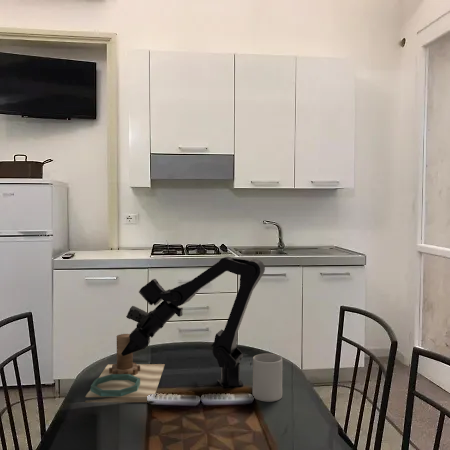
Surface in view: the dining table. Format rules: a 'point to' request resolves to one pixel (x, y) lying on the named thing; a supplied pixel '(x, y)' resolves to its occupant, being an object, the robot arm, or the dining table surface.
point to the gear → (124, 358)
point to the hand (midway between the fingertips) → (125, 350)
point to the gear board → (127, 384)
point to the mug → (267, 377)
